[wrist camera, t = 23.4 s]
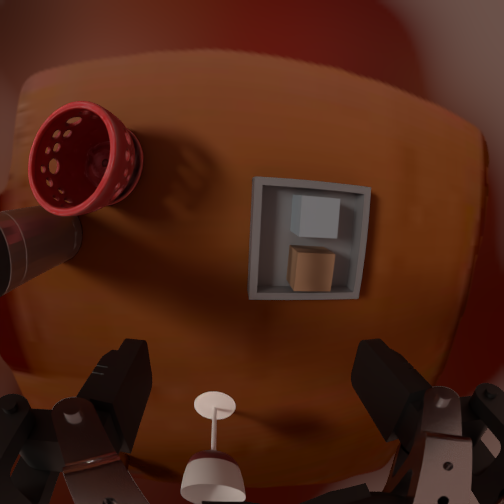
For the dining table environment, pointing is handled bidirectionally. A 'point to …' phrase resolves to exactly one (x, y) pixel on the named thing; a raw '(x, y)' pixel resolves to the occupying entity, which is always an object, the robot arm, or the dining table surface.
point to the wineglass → (213, 459)
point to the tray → (304, 238)
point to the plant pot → (84, 160)
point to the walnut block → (310, 268)
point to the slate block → (315, 216)
